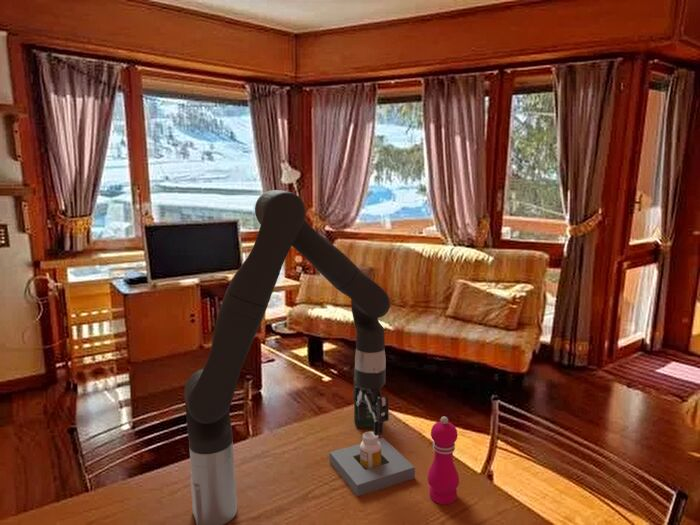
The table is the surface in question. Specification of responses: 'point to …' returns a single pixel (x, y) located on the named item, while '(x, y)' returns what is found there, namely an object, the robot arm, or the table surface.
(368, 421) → the coffee jar
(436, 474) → the pepper mill
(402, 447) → the table surface
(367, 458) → the supplement bottle
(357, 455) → the socket block
